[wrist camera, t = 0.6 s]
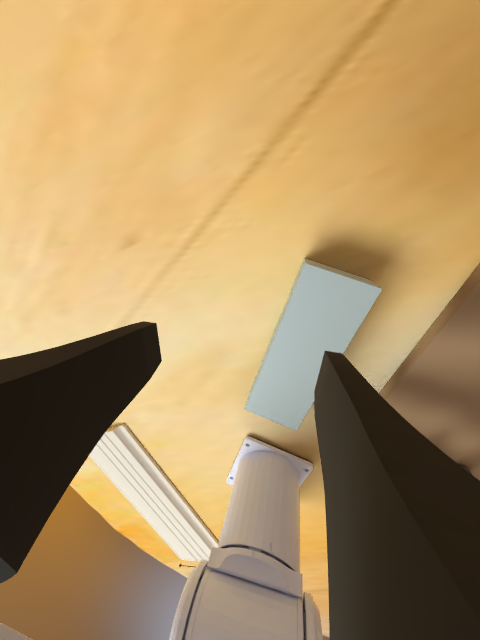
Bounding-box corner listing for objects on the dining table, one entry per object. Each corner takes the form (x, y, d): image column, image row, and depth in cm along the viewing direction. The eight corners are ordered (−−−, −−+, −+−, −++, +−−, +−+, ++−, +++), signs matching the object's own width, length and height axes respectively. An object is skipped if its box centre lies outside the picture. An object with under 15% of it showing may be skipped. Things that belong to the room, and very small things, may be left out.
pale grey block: (296, 406, 22) (296, 430, 20) (250, 388, 23) (244, 409, 20) (368, 278, 16) (382, 288, 14) (304, 257, 17) (305, 263, 14)
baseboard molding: (134, 418, 30) (83, 431, 35) (118, 436, 27) (66, 448, 32) (238, 552, 38) (185, 549, 42) (233, 576, 35) (177, 570, 40)
